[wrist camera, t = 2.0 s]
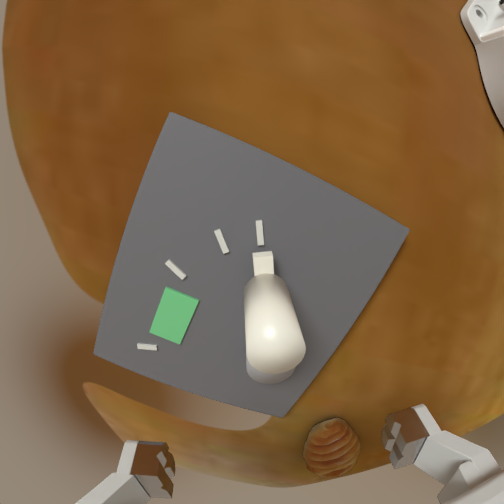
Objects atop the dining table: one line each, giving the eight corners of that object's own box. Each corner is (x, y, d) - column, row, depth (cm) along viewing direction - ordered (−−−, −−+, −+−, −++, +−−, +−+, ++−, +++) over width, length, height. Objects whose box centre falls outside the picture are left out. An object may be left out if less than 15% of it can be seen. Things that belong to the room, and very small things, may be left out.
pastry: (292, 424, 30) (298, 451, 26) (354, 405, 29) (364, 432, 26) (306, 462, 33) (311, 486, 29) (358, 447, 32) (366, 470, 29)
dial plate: (174, 113, 19) (169, 111, 17) (400, 224, 22) (411, 230, 20) (99, 343, 25) (92, 355, 23) (280, 406, 28) (283, 419, 26)
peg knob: (293, 367, 24) (309, 439, 17) (248, 372, 24) (252, 446, 17) (289, 246, 20) (314, 302, 13) (233, 251, 20) (231, 311, 13)
